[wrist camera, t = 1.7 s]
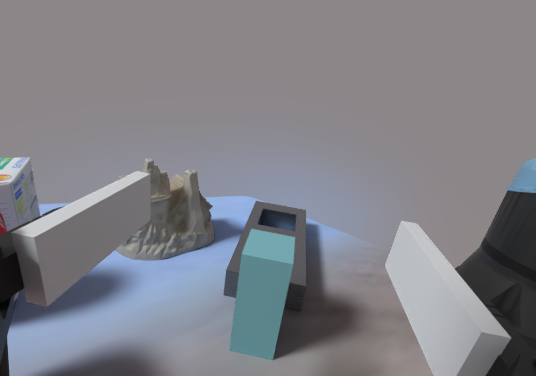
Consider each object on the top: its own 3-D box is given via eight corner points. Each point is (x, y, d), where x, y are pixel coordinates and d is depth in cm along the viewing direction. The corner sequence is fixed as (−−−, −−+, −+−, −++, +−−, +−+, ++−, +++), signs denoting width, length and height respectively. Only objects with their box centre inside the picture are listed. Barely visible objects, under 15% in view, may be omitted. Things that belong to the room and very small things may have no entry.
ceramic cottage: (224, 245, 46) (226, 157, 40) (112, 274, 37) (97, 166, 32) (193, 209, 58) (191, 138, 53) (103, 225, 49) (91, 141, 44)
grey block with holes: (253, 218, 56) (256, 200, 54) (302, 227, 55) (305, 210, 54) (223, 294, 35) (226, 269, 34) (300, 311, 35) (306, 286, 33)
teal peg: (277, 323, 32) (295, 237, 28) (272, 360, 28) (293, 264, 24) (239, 315, 33) (251, 228, 28) (229, 350, 28) (241, 253, 24)
